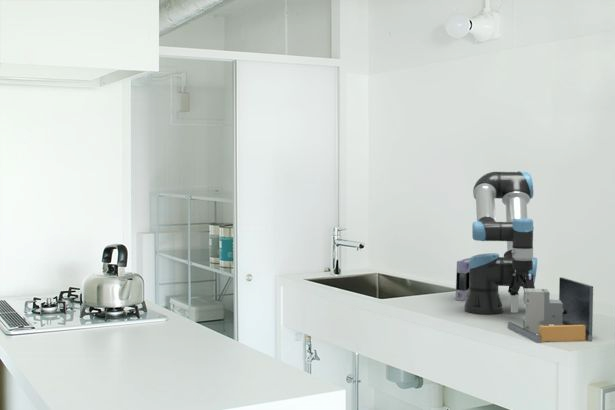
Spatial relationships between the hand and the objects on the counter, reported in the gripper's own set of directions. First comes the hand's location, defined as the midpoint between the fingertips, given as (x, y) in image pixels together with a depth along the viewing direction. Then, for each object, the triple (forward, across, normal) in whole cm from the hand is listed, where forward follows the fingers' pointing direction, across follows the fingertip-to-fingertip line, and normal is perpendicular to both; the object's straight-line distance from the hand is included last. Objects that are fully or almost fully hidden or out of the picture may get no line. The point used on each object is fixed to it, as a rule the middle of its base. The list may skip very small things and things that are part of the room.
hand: (521, 315), depth 291 cm
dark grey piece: (+3, +22, 0) cm, 22 cm away
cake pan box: (+2, -55, -1) cm, 55 cm away
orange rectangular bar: (+3, +32, 0) cm, 32 cm away
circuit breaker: (+3, +19, 0) cm, 20 cm away
